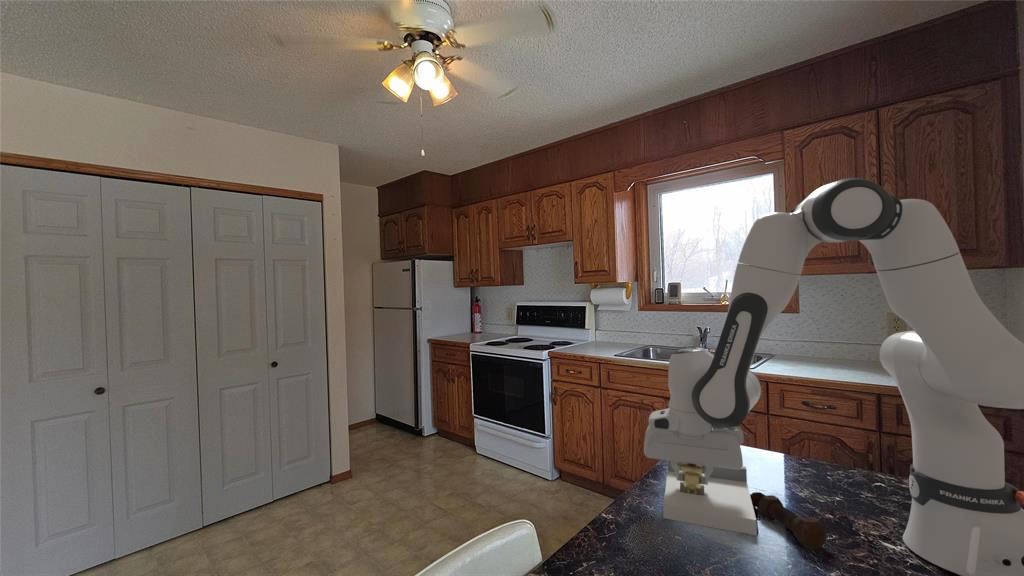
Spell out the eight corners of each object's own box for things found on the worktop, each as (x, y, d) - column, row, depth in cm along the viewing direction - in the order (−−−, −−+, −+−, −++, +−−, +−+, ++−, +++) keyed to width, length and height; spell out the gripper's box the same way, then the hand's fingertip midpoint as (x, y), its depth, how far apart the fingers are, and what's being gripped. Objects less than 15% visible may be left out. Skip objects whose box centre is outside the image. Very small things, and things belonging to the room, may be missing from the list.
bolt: (759, 515, 91) (819, 556, 76) (740, 505, 90) (797, 545, 76) (770, 490, 92) (831, 526, 77) (751, 480, 91) (809, 515, 76)
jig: (746, 492, 97) (745, 466, 97) (756, 535, 81) (756, 504, 81) (668, 480, 104) (667, 456, 104) (663, 518, 87) (662, 489, 87)
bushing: (704, 492, 95) (704, 461, 95) (705, 503, 90) (704, 470, 90) (680, 488, 97) (679, 458, 97) (679, 499, 92) (678, 467, 92)
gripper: (741, 420, 92) (743, 483, 92) (644, 411, 100) (646, 469, 100) (744, 429, 86) (746, 496, 86) (641, 419, 94) (643, 480, 95)
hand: (692, 481), depth 93 cm, fingers closed on bushing, 4 cm apart
